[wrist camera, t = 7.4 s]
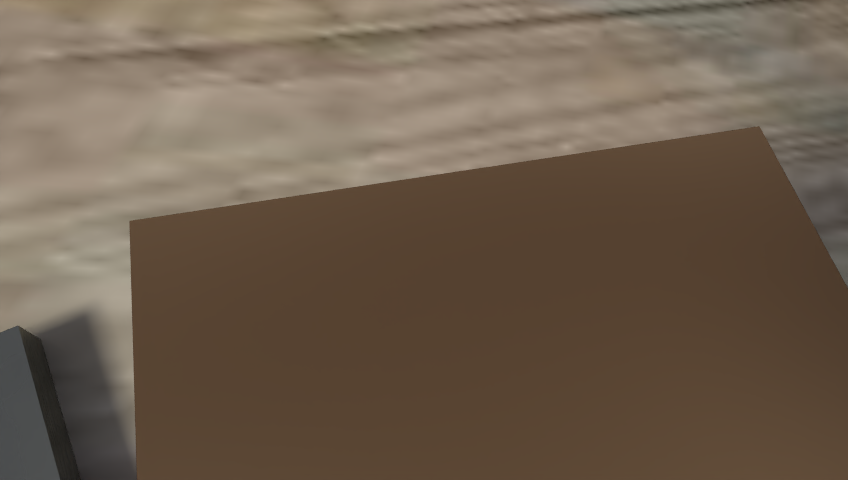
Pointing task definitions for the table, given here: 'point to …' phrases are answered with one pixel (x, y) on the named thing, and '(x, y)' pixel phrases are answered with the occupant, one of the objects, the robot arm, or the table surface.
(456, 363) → the walnut post
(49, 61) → the table surface
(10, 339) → the frame
